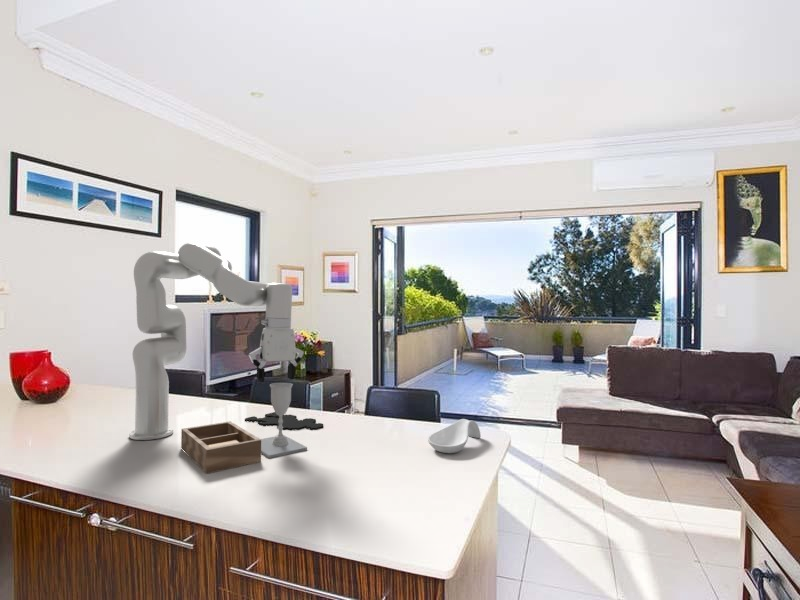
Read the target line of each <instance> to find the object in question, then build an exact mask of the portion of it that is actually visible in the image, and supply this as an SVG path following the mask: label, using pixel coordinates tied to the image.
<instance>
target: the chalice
mask: <svg viewBox="0 0 800 600" xmlns="http://www.w3.org/2000/svg"><path fill="white" fill-rule="evenodd" d="M293 385H294V383H291V382H272V383H270V384H269V387H270V402H271V406H272V408H273V410H274V412H275V413H276V414H277V415H279V421H278V422H279V427H278V428H277V429H278V433H277V435H275V436H273V437H274V440H273V442H272V445H274V446H284V445H287V444H289V442H288V441H287V437H288V436H287V437H286V434H284V433H283V430H282V429H283V428H284V427H283V426H282V423H283V420H282V416H283V415H286V414H287V411H288V409H289V407H290V405H291V402H292V388H293Z"/></svg>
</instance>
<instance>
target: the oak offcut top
mask: <svg viewBox="0 0 800 600" xmlns="http://www.w3.org/2000/svg"><path fill="white" fill-rule="evenodd" d="M235 443H240V442H238V441H237V440H233V441H228V442H223V443H217V444H212V445H207V446H209V447H210V448H213V447H219V446H224V445H229V444H235Z"/></svg>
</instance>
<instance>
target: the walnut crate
mask: <svg viewBox="0 0 800 600" xmlns="http://www.w3.org/2000/svg"><path fill="white" fill-rule="evenodd" d="M180 436H181V437H180V439H181V442H180V443H181V446H180V448H182V449H183V450H184V451H185V452H186V453H187V454H188V455H189V456H188V455H187V454H186V453H185V452H184V451H183V450H182V449H181V450H182V451H183V452H184V453H185V454H186V455H187V456H188V458H190V457H191V458H192V459H193V460H194V461H195V462H196V463H197V464H198V465H199V466H200V467H201V470H202V471H204V472H205V474H211V473H215V472H219V471H224V470H229V468H230V469H233V468H232V467H234V468H237V466H239V467H242V466H241V465H243V466H247V465H246V464H248V465H252V464H256V462H257V463H261V462H262V454H261V439H262V438H259V437H258V436H255V435H254V434H252V433H250V432H249V431H247V430H246V429H244V428H243V427H241V426H238V424H235V423H234V422H233V421H229V420H228V421H224V422H216V423H211V424H205V425H199V426H198V425H197V426H191V427H186V428H181V435H180ZM233 440H237V441H238V442H240V443H235V444H229V445H224V446H219V447H213V448H210V447H209V446H207V445H212V444H217V443H223V442H228V441H233ZM191 458H190V459H191ZM192 459H191V460H192ZM193 460H192V461H193ZM194 461H193V462H194ZM195 462H194V463H195ZM196 463H195V464H196ZM251 463H252V464H251ZM197 464H196V465H197ZM198 465H197V466H198ZM199 466H198V467H199ZM200 467H199V468H200Z"/></svg>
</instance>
